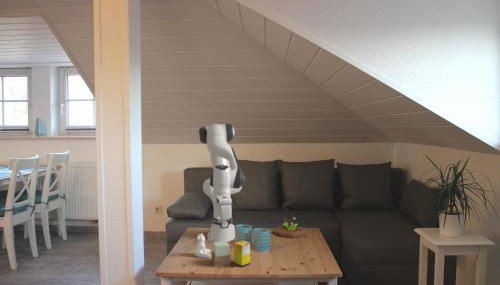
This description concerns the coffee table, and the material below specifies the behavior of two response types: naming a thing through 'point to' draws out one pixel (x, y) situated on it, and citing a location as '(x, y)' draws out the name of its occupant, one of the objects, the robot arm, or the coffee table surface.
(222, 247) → the sage block
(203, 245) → the white creature statuette
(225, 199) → the robot arm
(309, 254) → the coffee table surface
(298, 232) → the plant
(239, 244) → the supplement box
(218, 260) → the walnut block
